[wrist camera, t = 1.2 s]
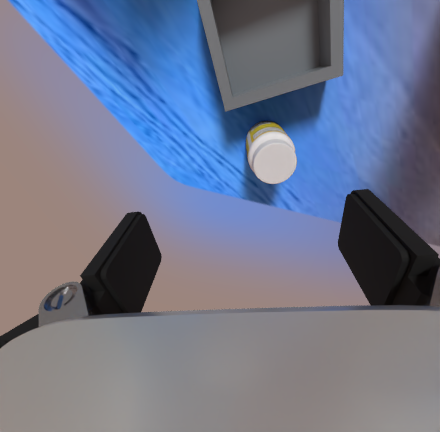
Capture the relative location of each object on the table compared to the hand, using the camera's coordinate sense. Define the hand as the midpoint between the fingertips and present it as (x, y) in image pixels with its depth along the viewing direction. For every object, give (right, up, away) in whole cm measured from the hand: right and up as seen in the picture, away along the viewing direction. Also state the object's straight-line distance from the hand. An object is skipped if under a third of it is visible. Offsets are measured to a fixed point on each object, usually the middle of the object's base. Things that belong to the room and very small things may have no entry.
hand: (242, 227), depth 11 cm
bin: (+4, +18, +11) cm, 22 cm away
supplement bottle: (+4, +10, +17) cm, 20 cm away
